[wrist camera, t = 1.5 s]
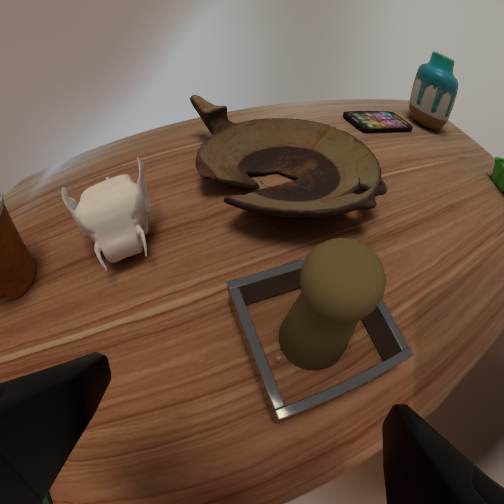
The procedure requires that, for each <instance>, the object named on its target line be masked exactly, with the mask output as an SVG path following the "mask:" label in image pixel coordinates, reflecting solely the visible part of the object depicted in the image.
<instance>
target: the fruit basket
mask: <svg viewBox="0 0 504 504" xmlns="http://www.w3.org/2000/svg"><path fill="white" fill-rule="evenodd" d="M491 179H492V180H493V182H494V183H495V184H496V185H497V186H498V188H499V189H500V190H501V192H502V193H503V194H504V159H502V158H498V157H495V165H494V170H493V174H492V178H491Z"/></svg>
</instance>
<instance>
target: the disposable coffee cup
mask: <svg viewBox="0 0 504 504" xmlns="http://www.w3.org/2000/svg"><path fill="white" fill-rule="evenodd" d="M35 274H36V264H35V262H34V260H33V259H32V257H31V255H30V253H29V252H28V250H27V248H26V246H25V245H24V243H23V241H22V239H21V237H20V235H19V233H18V231H17V230H16V228H15V226H14V224H13V222H12V219H11V217H10V215H9V213H8V211H7V209H6V207H5V205H4V199H3V193H2V191H1V190H0V293H2V294H3V295H4V296H6V297H7V298H8V299H16V298H18V297H20V296H22V295H23V294H24V293H25V292H26V291H27V290H28V288H29V287H30V286H31V284H32V282H33V280H34V277H35Z"/></svg>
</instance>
